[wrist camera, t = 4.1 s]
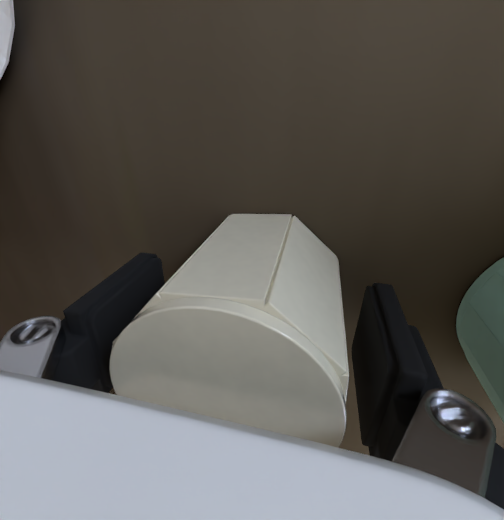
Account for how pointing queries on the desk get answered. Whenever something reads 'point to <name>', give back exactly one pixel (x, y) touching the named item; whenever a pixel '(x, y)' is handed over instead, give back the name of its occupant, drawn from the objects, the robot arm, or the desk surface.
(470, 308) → the bottle
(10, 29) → the desk lamp
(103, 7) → the desk surface
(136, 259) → the robot arm
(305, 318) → the cream short cylinder
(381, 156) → the desk surface
